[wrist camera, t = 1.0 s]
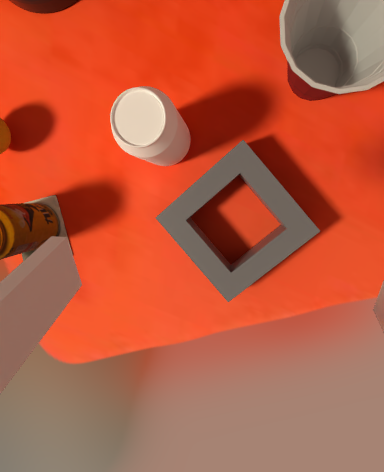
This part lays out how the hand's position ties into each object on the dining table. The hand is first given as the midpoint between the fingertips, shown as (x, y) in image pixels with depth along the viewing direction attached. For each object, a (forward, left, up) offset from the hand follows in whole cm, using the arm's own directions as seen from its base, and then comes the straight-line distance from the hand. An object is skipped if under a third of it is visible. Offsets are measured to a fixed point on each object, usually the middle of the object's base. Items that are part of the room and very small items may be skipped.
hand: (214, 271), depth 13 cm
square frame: (+1, +1, -25) cm, 25 cm away
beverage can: (-12, +1, -26) cm, 28 cm away
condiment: (-15, -20, -26) cm, 36 cm away
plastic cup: (-6, +18, -26) cm, 32 cm away
